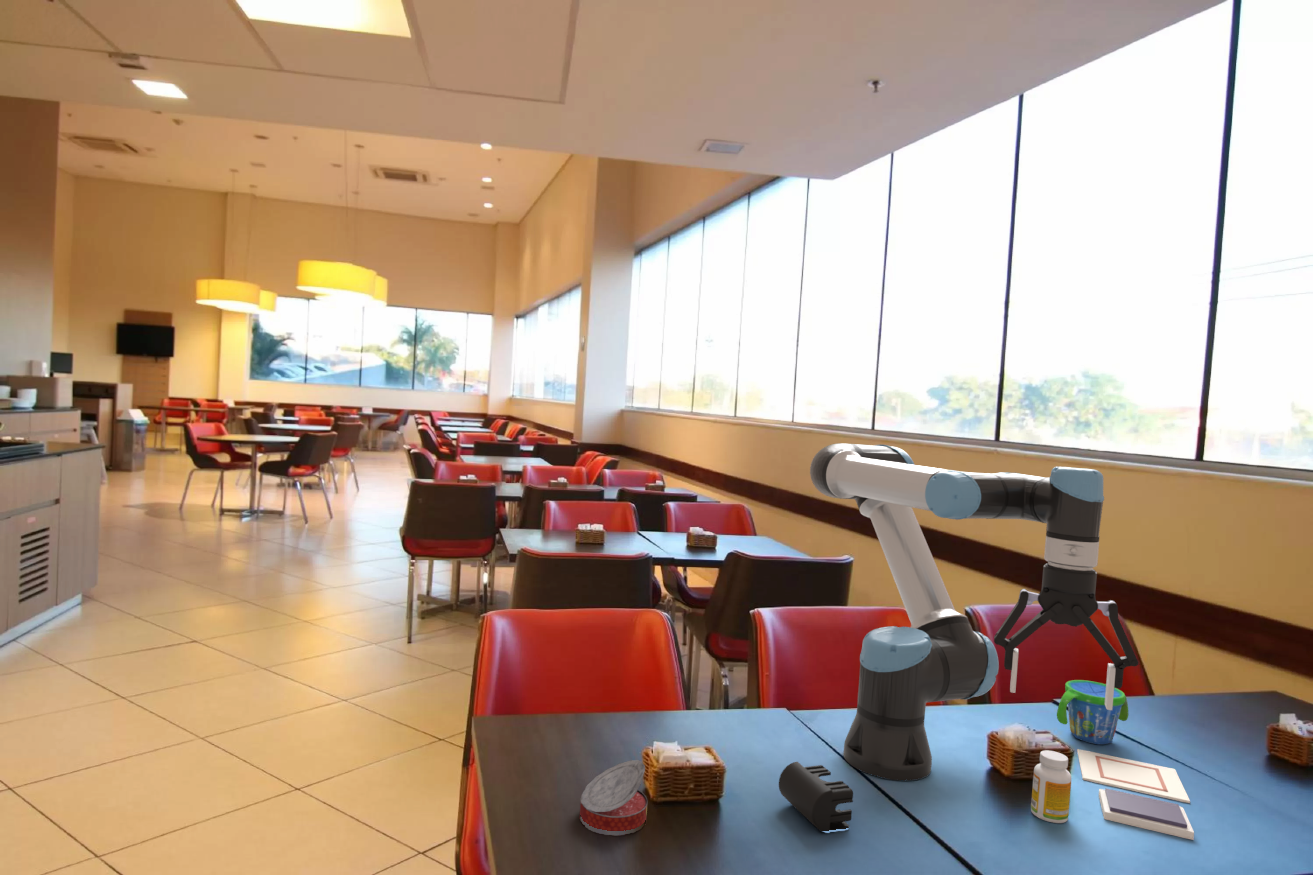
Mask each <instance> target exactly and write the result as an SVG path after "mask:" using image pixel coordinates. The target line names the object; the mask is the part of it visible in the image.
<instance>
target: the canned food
mask: <svg viewBox="0 0 1313 875" xmlns="http://www.w3.org/2000/svg"><path fill="white" fill-rule="evenodd" d="M645 771H646V765H645V764H644V763H643V762H642V761H641V760H639V759H635V760H628V761H625V762H619V763H618V764H616V765H614V766H612V767H609V768H607V769H606V770H604V771H603V772H601V773H600V774H598V775H596V776H595V777H594V778H593V779H592V780H591V781H590V782H589V783H588V784H587V785H586V786H585V788H584V790H583V792H582V793H581V796H580V805H579V808H580V809H579V816H580V815H581V817H582V819H583V821H584V822H586V823H587V824H589V826H592V827H594V828H597V829H602V830H607V831H624V830H625V831H626V830H631V829H635V828H637V827H639V826H641V825H642V824H643V823H644V822H645V820H646V821H647V815H648V814H647V813H648V812H647V811H648V804H649V803H648V801H649V800H648V798H647V795H645V794H644V793H643V791H641V790H639V789H640V787H641V785H642V780H643V777H644V774H645Z"/></svg>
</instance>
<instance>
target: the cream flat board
mask: <svg viewBox="0 0 1313 875" xmlns="http://www.w3.org/2000/svg"><path fill="white" fill-rule="evenodd" d="M1076 752H1077V758H1078V763H1079V767H1080V772H1081V777H1082V780H1083V781H1087V782H1090V783H1091V782H1092V783H1096V784H1101V785H1104V786H1110V787H1114V788H1117V789H1119V788H1120V789H1123V790H1128V791H1131V792H1137V793H1140V794H1141V793H1142V794H1145V795H1146V794H1147V795H1151V796H1153V797H1154V796H1155V797H1160V798H1164V799H1169V800H1171V801H1172V800H1173V801H1177V802H1181V803H1187V804H1191V800H1190V798H1189V795H1188V794H1187V791H1186V790H1185V787H1184V785H1183V783H1182V781H1181V779H1180V777H1179V775H1178V773H1177V770H1176V769H1175V768H1171V767H1166V766H1162V765H1158V764H1157V765H1156V764H1152V763H1149V762H1148V763H1147V762H1142V761H1138V760H1133V759H1129V758H1123V757H1119V756H1118V757H1117V756H1112V755H1109V754H1104V753H1099V752H1094V751H1089V750H1085V749H1081V748H1080V749H1079V748H1077V749H1076Z"/></svg>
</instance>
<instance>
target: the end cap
mask: <svg viewBox="0 0 1313 875" xmlns="http://www.w3.org/2000/svg"><path fill="white" fill-rule="evenodd" d="M831 774H832V772H831V771H830V770H828V769H827V768H826V766H824V765H822V764H820V765H811V766H803V765H802V764H801V763H800V762H799V761H794V762H792V763H790V764H788V765H787V766H786V767H784V769H783V770H782V772H781V773H780V776H779V780H778V788H779V792H780V793H781V795H782V797H783V798H784V799H786V801H787V802H789V804H790V805H792V806H793V808H795V809H796V810H797V811H798V812H799V813H800V815H802V816H804V817H805V819H807V820H808V821H809V822H810V824H812V825H813V826H814V827H815V828H816V829H817V830H818V831H819V832H821V831H829V830H836V829H846V828H849V829H850V825H849V824H848V823H847V822H850V821H851V820H852V816H853V815H852V814H853V810H852V809H843V810H841V809H836V808H837V806H838V805H841V804H847V803H848V804H850V803H853V802H854V791H853V789H852V788H851V787H850V786H849V785H847V784H846V783H845V782H844V781H843V780H839V781H826V780H823V779H821V778H820V777H828V776H831Z"/></svg>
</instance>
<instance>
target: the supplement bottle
mask: <svg viewBox="0 0 1313 875" xmlns="http://www.w3.org/2000/svg"><path fill="white" fill-rule="evenodd" d="M1068 766H1069V758H1068V756H1066V755H1065V754H1063V753H1060V752H1057V751H1054V750H1048V749H1047V750H1042V751H1040V753H1039V763H1037V764H1036V765H1035V766H1034V769H1033V777H1032V790H1031V800H1030V802H1031V803H1030V811H1031V813H1032V814H1033V815H1034V816H1035V817H1037V818H1039V819H1040V820H1043V821H1045V822H1050V823H1054V824H1063V823H1067V821H1068V820H1069V814H1070V813H1069V812H1070V802H1071V791H1072V790H1071V788H1072V774H1071V773H1070V771H1069V770H1068Z"/></svg>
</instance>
